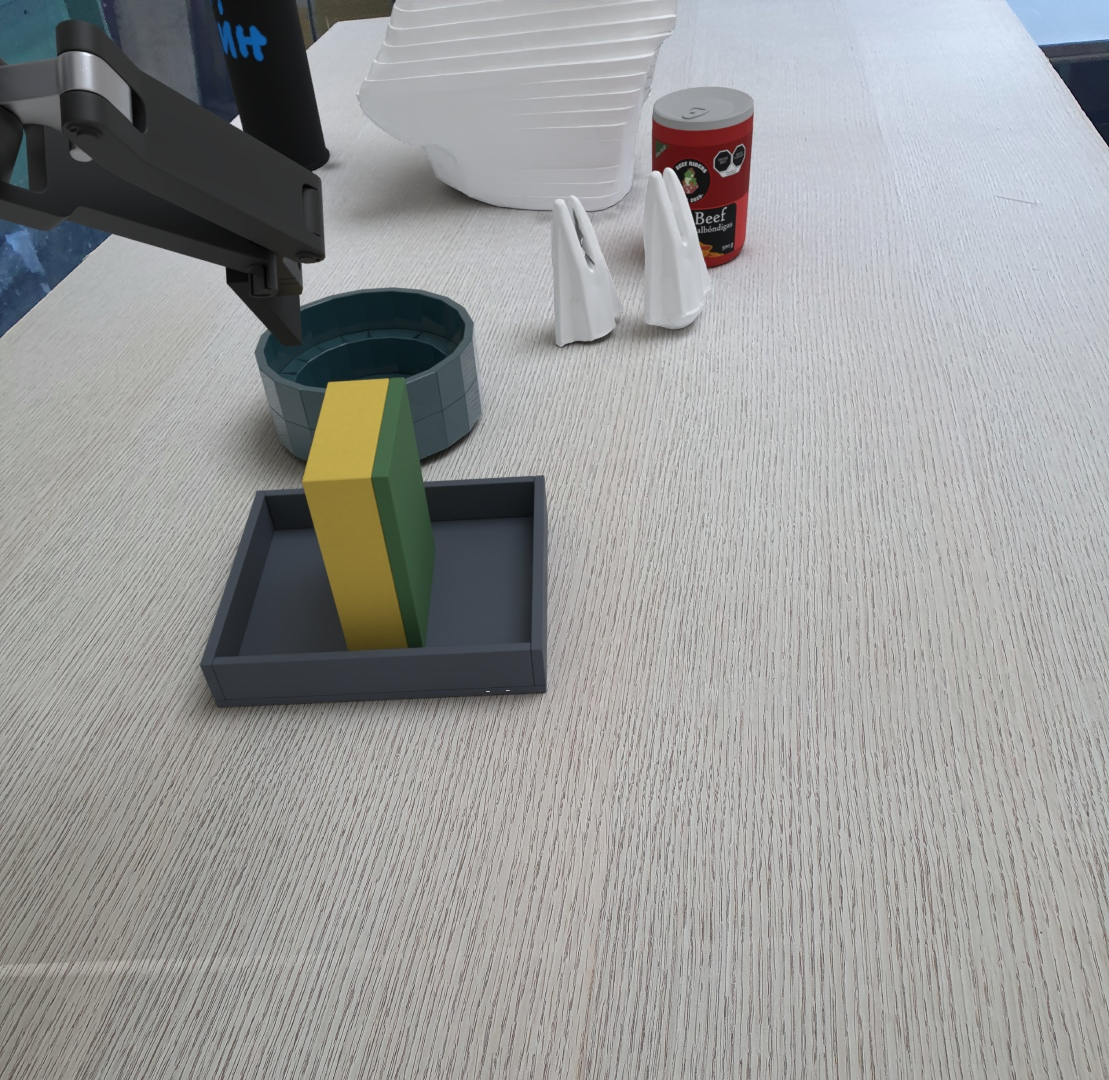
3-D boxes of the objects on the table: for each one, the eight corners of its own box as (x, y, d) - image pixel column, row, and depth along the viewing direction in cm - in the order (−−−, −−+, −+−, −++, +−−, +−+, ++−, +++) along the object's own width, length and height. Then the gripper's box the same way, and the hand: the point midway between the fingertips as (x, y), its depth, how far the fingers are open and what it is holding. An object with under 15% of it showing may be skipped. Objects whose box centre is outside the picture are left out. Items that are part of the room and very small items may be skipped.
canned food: (640, 266, 88) (640, 118, 80) (665, 226, 93) (667, 83, 85) (733, 274, 86) (742, 123, 78) (753, 232, 91) (764, 87, 83)
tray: (216, 707, 56) (199, 665, 54) (269, 531, 66) (256, 490, 64) (546, 692, 55) (542, 649, 53) (547, 516, 66) (544, 474, 63)
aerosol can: (303, 140, 114) (252, -95, 99) (345, 159, 109) (298, -86, 95) (235, 163, 111) (171, -77, 96) (275, 183, 106) (215, -66, 91)
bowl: (261, 483, 70) (235, 399, 66) (296, 373, 80) (276, 294, 75) (478, 471, 69) (467, 386, 65) (487, 362, 79) (478, 281, 75)
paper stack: (672, 215, 95) (679, -162, 76) (373, 223, 98) (308, -138, 79) (677, 130, 109) (683, -205, 90) (415, 139, 112) (369, -184, 93)
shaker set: (709, 308, 83) (715, 152, 75) (717, 334, 80) (725, 175, 72) (553, 321, 83) (543, 167, 75) (556, 348, 80) (545, 191, 72)
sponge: (349, 658, 57) (301, 481, 49) (368, 553, 63) (327, 381, 55) (424, 654, 57) (388, 476, 49) (435, 550, 63) (404, 376, 55)
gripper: (-909, 185, 22) (-175, 434, 44) (275, 100, 21) (438, 398, 42) (-943, -187, 22) (-188, 246, 43) (254, -293, 21) (428, 204, 42)
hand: (122, 322), depth 43 cm, fingers open, 13 cm apart
